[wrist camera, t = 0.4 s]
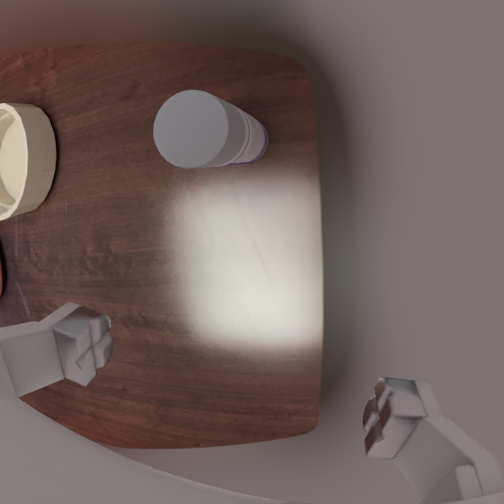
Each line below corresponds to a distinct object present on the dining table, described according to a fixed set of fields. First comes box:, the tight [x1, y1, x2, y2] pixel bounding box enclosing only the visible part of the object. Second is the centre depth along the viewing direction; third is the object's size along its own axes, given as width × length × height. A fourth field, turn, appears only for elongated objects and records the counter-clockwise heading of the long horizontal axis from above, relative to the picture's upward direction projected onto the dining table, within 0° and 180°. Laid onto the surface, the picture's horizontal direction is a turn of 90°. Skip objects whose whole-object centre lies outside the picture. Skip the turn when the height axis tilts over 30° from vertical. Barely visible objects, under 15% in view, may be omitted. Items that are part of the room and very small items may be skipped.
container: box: [154, 90, 269, 168], centre depth 23 cm, size 5×5×15 cm
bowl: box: [0, 103, 56, 221], centre depth 33 cm, size 16×16×6 cm
